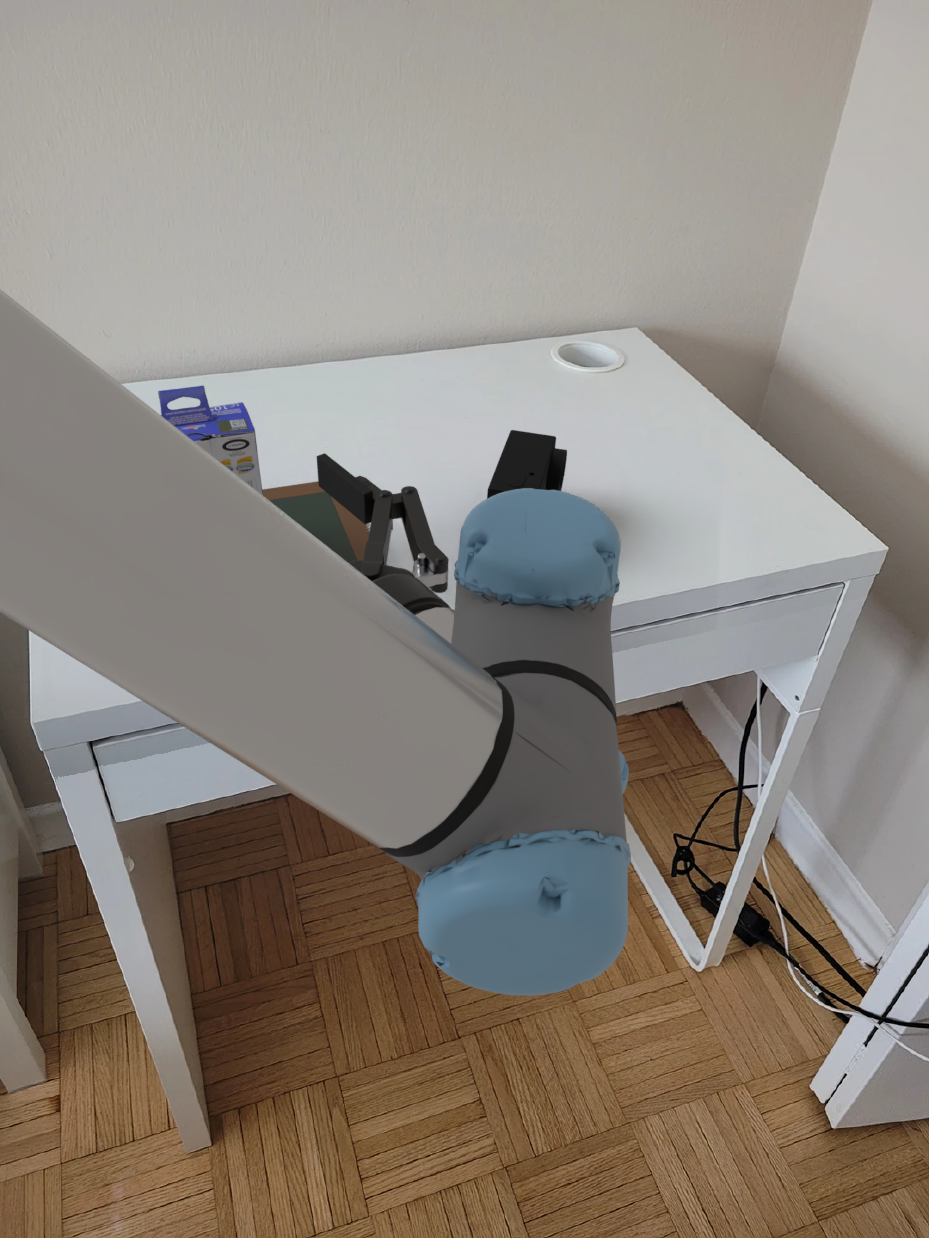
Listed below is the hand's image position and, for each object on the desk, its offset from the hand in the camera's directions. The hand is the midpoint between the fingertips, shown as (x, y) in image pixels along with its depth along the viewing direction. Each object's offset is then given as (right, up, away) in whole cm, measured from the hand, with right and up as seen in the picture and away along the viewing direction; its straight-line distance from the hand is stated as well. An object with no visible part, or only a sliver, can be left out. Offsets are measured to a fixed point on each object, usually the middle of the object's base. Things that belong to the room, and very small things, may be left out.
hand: (243, 497), depth 71 cm
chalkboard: (-3, -3, +13) cm, 13 cm away
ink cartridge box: (-5, -3, +12) cm, 13 cm away
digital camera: (+22, -1, +17) cm, 28 cm away
